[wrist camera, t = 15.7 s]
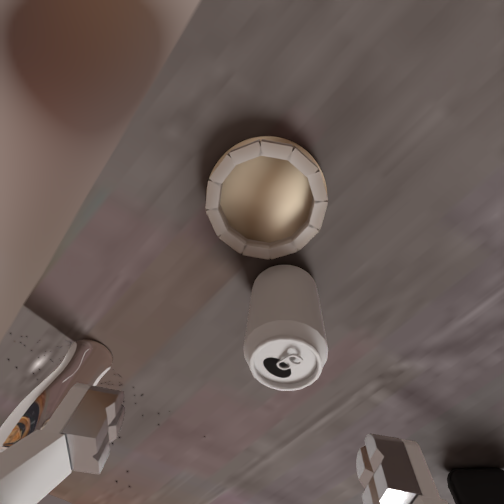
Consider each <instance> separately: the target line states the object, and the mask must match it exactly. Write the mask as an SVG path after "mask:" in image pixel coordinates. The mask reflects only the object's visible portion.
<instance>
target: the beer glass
mask: <svg viewBox="0 0 504 504" xmlns="http://www.w3.org/2000/svg"><path fill="white" fill-rule="evenodd" d="M112 363H113V357H112V354H111V352H110V351H109V349H108V348H107V347H105V346H104V345H103V344H101V343H99V342H97V341H94V340H89V339H82V340H78V341H76V342H75V343H73V344H72V345H71V347H70V349H69V350H68V352H67V354H66V356H65V358H64V360H63V361H62V363H61V364H60V366H59V367H58V368H57V369H56V370H55V371H54V372H53V373H52V374H51V375H50V376H49V377H47V378H46V379H45V380H44V381H43V382H42V383H41V384H40V385H39V386H37V387H36V388H35V389H34V390H33V391H32V392H31V393H30V394H29V395H28V396H27V397H26V398H25V399H24V400H23V401H22V402H21V403H20V404H19V405H18V406H17V407H16V409H15V410H14V411H13V412H12V413H11V414H10V416H9V417H8V418H7V420H6V421H5V422H4V423H3V425H2V426H1V428H0V453H1V452H2V451H4V450H6V449H7V448H9V447H10V446H12V445H13V444H15V443H17V442H18V441H20V440H21V439H23V438H24V437H26V436H28V435H29V434H31V433H32V432H34V431H36V430H42V429H43V428H44V426H45V425H46V424H47V422H48V421H49V419H50V418H51V416H52V415H53V414H54V412H55V411H56V409H57V408H58V406H59V405H60V404H61V402H62V401H63V399H64V398H65V396H66V395H67V394H68V392H69V391H70V389H71V388H72V387H73V386H74V385H75V384H76V383H81V384H87V385H93V386H96V385H97V383H98V382H99V380H100V379H101V378H102V376H103V375H104V374H105V373H106V372H107V371H108V370H109V369H110V367H111V366H112Z"/></svg>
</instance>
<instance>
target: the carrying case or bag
mask: <svg viewBox="0 0 504 504" xmlns="http://www.w3.org/2000/svg"><path fill="white" fill-rule="evenodd" d="M447 482H448V488H449V489H450V492H451V494H452V496H453V499H454V501H455V503H456V504H504V470H501V469H498V468H481V469H454V470H452V471H451V472H450V473H449V474H448V477H447Z"/></svg>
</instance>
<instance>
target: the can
mask: <svg viewBox="0 0 504 504" xmlns="http://www.w3.org/2000/svg"><path fill="white" fill-rule="evenodd" d="M327 356H328V346H327V340H326V335H325V329H324V323H323V318H322V312H321V307H320V301H319V295H318V290H317V286H316V283H315V280H314V279H313V278H312V277H311V275H310V274H309V273H308V272H306V271H305V270H303V269H301V268H300V267H296V266H293V265H276V266H273V267H269V268H268V269H266V270H264V271H263V272H261V273H260V274H259V276H258V277H257V278H256V279H255V281H254V284H253V288H252V293H251V300H250V307H249V314H248V321H247V328H246V334H245V341H244V357H245V359H246V361H247V363H248V365H249V366H250V370H251V372H252V374H253V376H254V377H255V378H256V379H257V380H258V381H259V382H260V383H262V384H264V385H265V386H267V387H269V388H272V389H276V390H280V391H293V390H298V389H302V388H304V387H307V386H309V385H311V384H312V383H313V382H314V381H316V380H317V379H318V377H319V376H320V374H321V372H322V368H323V366H324V364H325V362H326V360H327Z"/></svg>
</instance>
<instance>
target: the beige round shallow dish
mask: <svg viewBox="0 0 504 504" xmlns="http://www.w3.org/2000/svg"><path fill="white" fill-rule="evenodd" d="M327 200H328V198H327V187H326V182H325V179H324V176H323V173H322V171H321V169H320V167H319V165H318V164H317V162H316V161H315V159H314V158H313V157H312V156H311V155H310V154H309V153H308V152H307V151H306V150H305V149H304V148H302V147H301V146H300V145H298V144H296V143H295V142H292V141H290V140H288V139H285V138H281V137H275V136H259V137H253V138H250V139H247V140H244V141H242V142H240V143H238V144H236V145H235V146H233V147H232V148H230V149H229V150H228V151H227V152H226V153H225V154H224V155H223V156H222V157H221V158H220V159H219V161H218V162H217V163H216V165H215V167H214V168H213V170H212V172H211V175H210V177H209V180H208V185H207V195H206V207H205V209H207V210H206V213H207V215H208V217H209V219H210V222H211V224H212V226H213V228H214V230H215V232H216V235H217V236H219V235H220V236H219V239H221V240H222V241H223V242H225V243H226V244H227V245H229V246H230V247H231V248H233V249H234V250H235V251H237V252H238V253H239V254H241V253H242V252H243V254H242V255H245V256H251V257H257V258H262V259H268V260H269V257H271V259H275V258H278V257H282V256H285V255H288V254H292V253H295V252H297V249H298V250H299V251H300V250H301V249H302V248H303V247H304V246H305V245H306V244H307V243H308V242H309V241H310V240H311V239H312V238H313V237H314V236H315V235H316V234H317V233H318V232H319V229H321V225H322V222H323V218H324V215H325V211H326V208H327V204H328V201H327Z"/></svg>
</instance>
